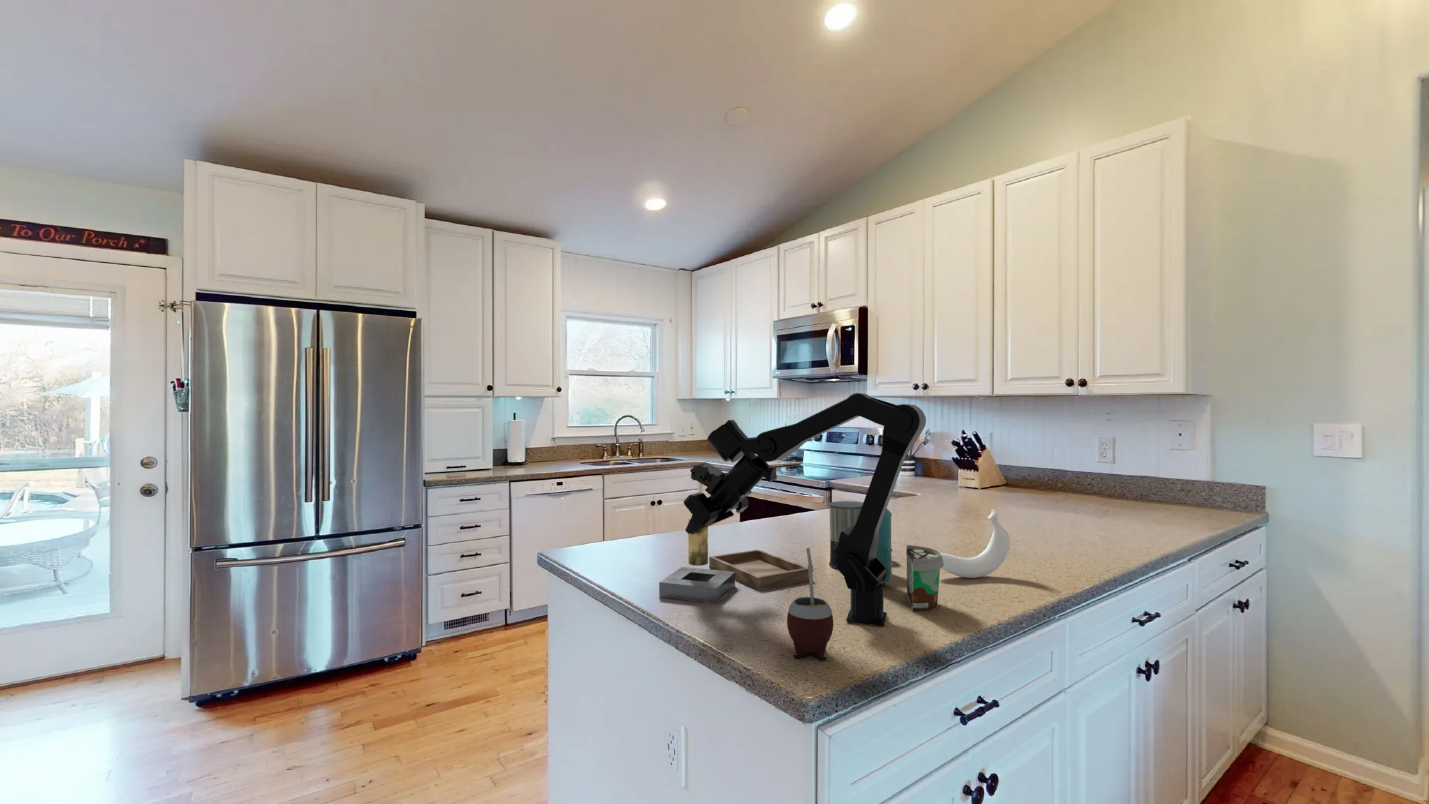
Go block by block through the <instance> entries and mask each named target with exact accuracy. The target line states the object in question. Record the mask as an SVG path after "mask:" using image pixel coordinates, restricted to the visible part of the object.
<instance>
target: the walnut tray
mask: <svg viewBox="0 0 1429 804" xmlns="http://www.w3.org/2000/svg"><path fill="white" fill-rule="evenodd" d="M708 564H709V565H708V569H709V568H710V569H711V570H720V571H730V572H735V581H738V582H739V583H742V584H744V585H747V586H749V587H751V588H754V589H755V590H757V591H759V590H764V589H768V588H769V589H770V588H774V587H781V586H785V585H790V584H796V583H801V582H807V581H809V572H808V566H806V565H803V564H800V563H798V562H794V561H791V560H789V559H785V558H783V557H780V556H777V555H775V554H772V553H769V552H767V551H763V550H761V549H753V550H744V551H739V552H738V551H737V552H732V553H726V554H725V553H724V554H718V555H712V556H708Z"/></svg>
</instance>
